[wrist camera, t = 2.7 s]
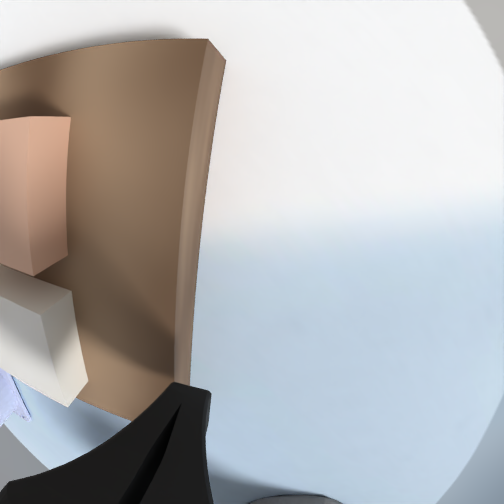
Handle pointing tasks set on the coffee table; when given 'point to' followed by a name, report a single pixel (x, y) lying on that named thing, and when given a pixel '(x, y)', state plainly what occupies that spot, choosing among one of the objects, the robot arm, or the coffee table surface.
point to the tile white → (40, 336)
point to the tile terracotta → (33, 192)
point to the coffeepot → (296, 500)
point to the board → (129, 202)
